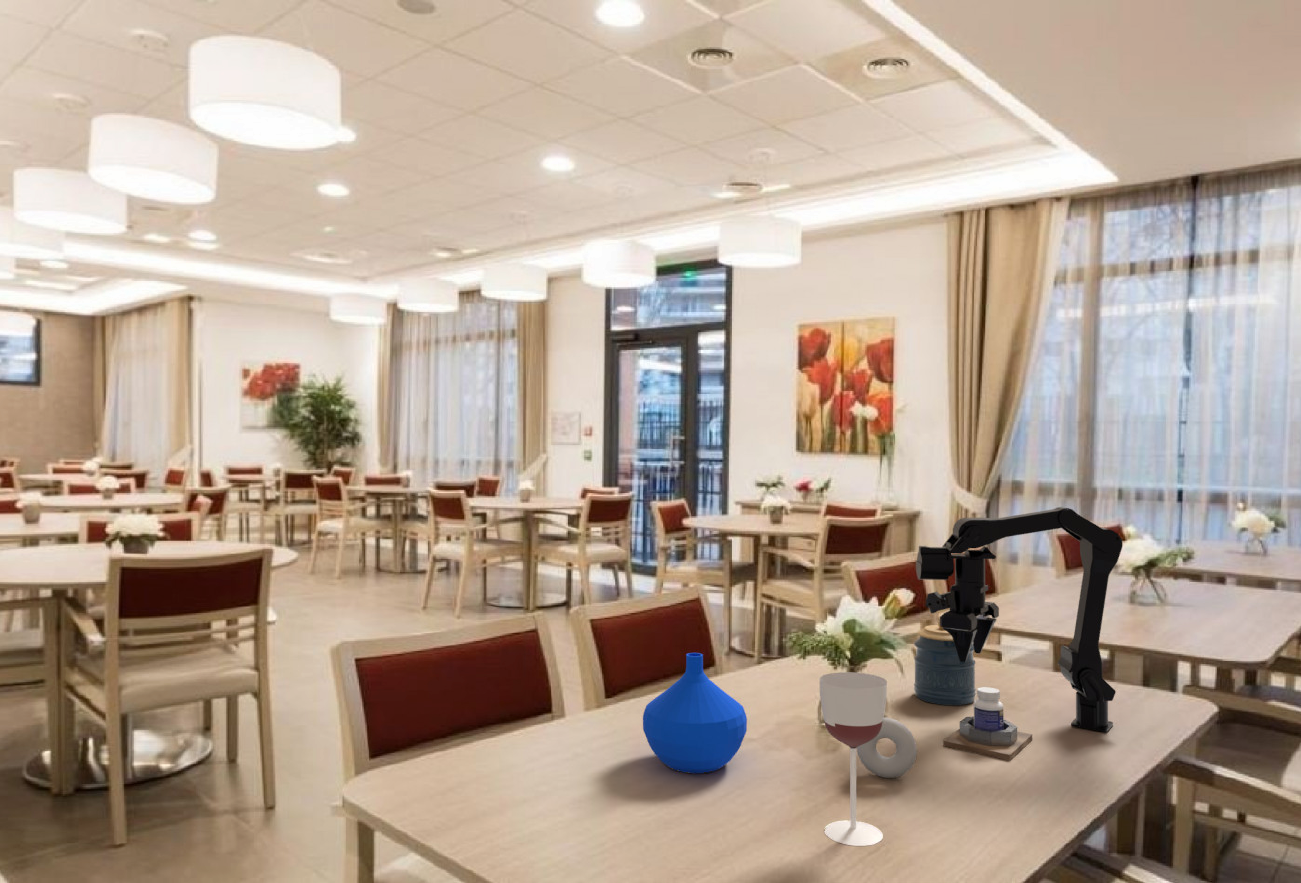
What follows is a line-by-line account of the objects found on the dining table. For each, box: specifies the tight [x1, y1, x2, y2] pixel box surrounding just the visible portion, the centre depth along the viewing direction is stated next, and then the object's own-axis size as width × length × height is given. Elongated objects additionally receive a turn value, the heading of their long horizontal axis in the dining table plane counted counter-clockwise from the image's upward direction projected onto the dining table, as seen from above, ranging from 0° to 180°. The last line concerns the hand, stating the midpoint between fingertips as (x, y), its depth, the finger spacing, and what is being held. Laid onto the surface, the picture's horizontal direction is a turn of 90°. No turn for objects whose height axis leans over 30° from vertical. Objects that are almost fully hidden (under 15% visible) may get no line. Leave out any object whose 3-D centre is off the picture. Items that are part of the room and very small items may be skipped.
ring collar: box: [959, 716, 1018, 746], centre depth 163 cm, size 9×9×2 cm
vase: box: [642, 652, 748, 774], centre depth 153 cm, size 18×18×19 cm
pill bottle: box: [973, 686, 1005, 730], centre depth 163 cm, size 5×5×9 cm
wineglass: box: [819, 671, 888, 847], centre depth 125 cm, size 9×10×22 cm
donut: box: [856, 716, 918, 779], centre depth 146 cm, size 10×4×10 cm, turn 71°
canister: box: [913, 619, 977, 706], centre depth 192 cm, size 13×13×18 cm
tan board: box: [942, 728, 1033, 761], centre depth 163 cm, size 14×12×1 cm
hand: (970, 657), depth 176 cm, fingers open, 9 cm apart
